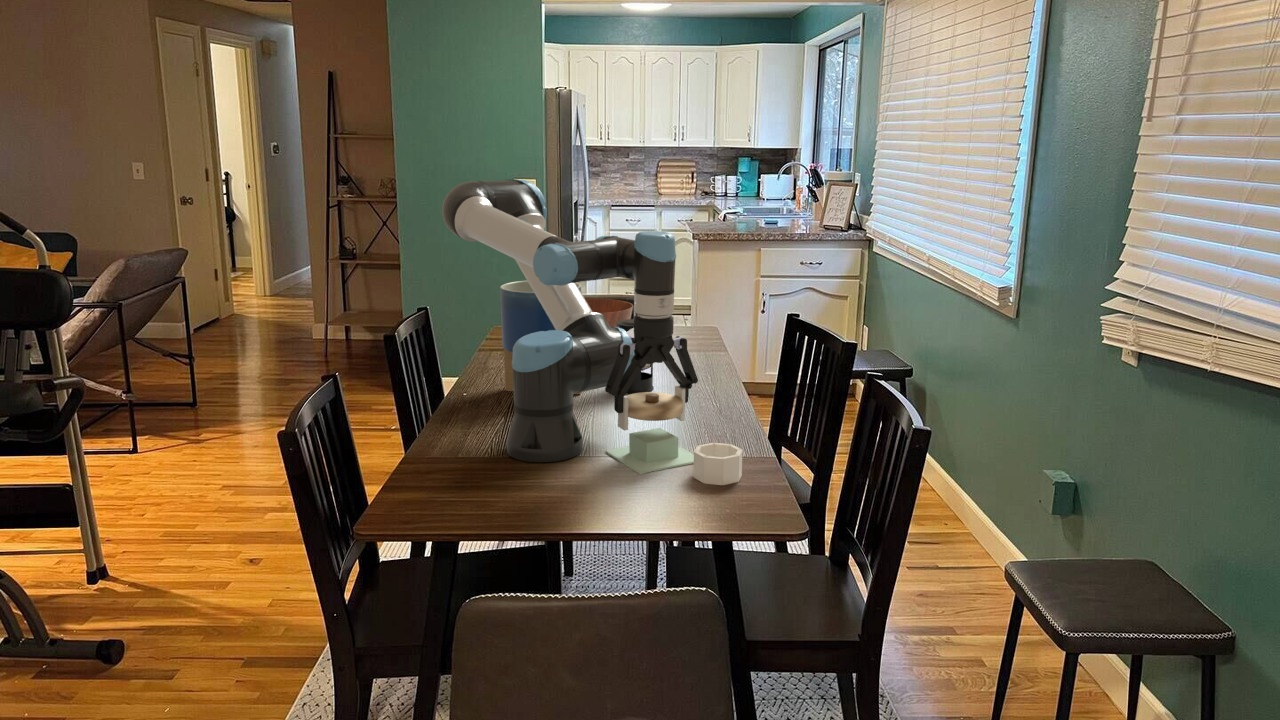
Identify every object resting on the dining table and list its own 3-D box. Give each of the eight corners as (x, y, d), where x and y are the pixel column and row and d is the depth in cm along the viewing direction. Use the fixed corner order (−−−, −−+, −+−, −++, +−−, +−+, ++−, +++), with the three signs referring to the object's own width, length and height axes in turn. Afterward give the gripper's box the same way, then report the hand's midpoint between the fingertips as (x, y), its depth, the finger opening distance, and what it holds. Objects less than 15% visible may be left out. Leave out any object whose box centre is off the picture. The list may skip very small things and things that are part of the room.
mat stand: (639, 474, 172) (639, 451, 171) (605, 452, 184) (605, 431, 183) (703, 461, 179) (703, 439, 178) (666, 441, 190) (666, 420, 189)
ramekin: (711, 487, 165) (711, 461, 164) (686, 473, 172) (686, 447, 171) (749, 479, 169) (750, 453, 168) (723, 465, 176) (724, 440, 175)
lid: (639, 424, 171) (640, 407, 171) (610, 406, 182) (610, 391, 181) (694, 415, 177) (695, 399, 176) (662, 398, 187) (663, 383, 186)
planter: (519, 380, 238) (515, 278, 232) (591, 384, 234) (590, 280, 228) (492, 400, 220) (488, 290, 214) (570, 405, 216) (568, 293, 210)
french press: (657, 394, 225) (657, 300, 220) (618, 395, 224) (618, 301, 218) (648, 381, 237) (649, 292, 231) (612, 383, 235) (611, 293, 230)
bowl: (561, 333, 295) (560, 297, 292) (638, 335, 291) (638, 299, 289) (542, 350, 271) (541, 312, 268) (626, 353, 267) (626, 314, 265)
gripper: (605, 324, 166) (604, 438, 171) (718, 312, 177) (714, 420, 183) (587, 316, 172) (587, 426, 177) (697, 305, 183) (693, 409, 189)
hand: (651, 423), depth 180 cm, fingers closed on lid, 12 cm apart
